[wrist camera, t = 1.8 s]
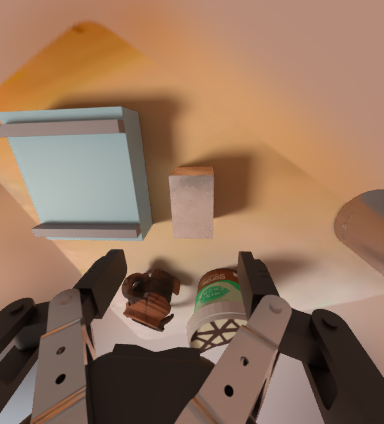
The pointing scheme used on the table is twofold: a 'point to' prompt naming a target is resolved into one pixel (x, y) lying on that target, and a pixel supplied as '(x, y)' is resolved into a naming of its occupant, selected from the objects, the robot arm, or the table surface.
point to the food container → (216, 310)
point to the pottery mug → (150, 298)
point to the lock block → (192, 202)
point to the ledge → (82, 171)
